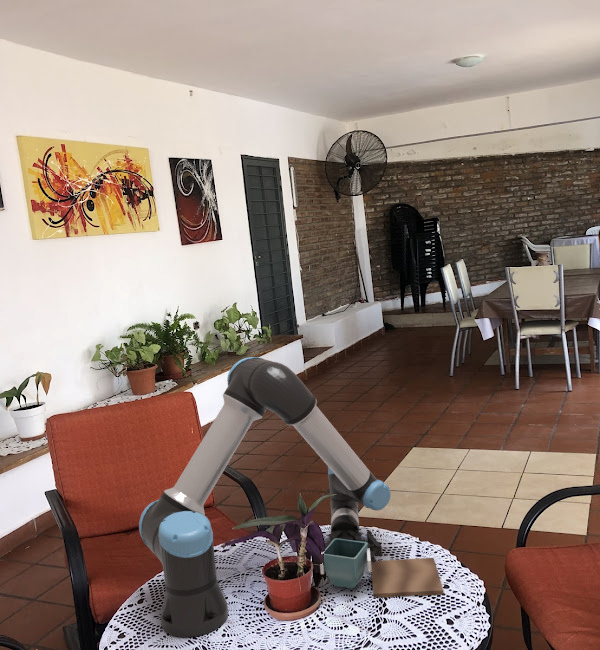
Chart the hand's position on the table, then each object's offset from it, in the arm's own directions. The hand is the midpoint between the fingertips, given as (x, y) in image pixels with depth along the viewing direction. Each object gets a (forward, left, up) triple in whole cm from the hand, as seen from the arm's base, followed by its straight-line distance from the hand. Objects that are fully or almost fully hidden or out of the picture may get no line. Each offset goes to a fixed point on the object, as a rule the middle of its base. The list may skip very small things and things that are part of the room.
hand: (345, 567), depth 157 cm
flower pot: (0, +4, -6) cm, 8 cm away
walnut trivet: (+14, +6, -7) cm, 17 cm away
